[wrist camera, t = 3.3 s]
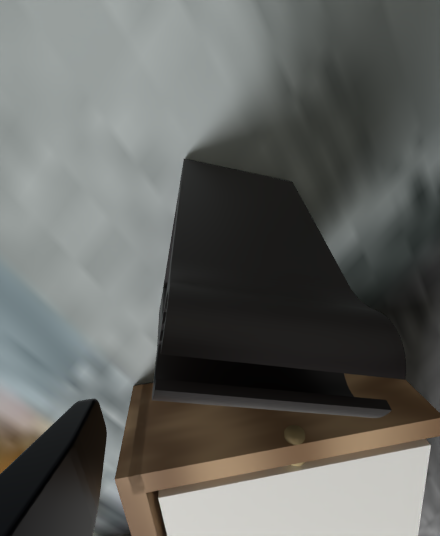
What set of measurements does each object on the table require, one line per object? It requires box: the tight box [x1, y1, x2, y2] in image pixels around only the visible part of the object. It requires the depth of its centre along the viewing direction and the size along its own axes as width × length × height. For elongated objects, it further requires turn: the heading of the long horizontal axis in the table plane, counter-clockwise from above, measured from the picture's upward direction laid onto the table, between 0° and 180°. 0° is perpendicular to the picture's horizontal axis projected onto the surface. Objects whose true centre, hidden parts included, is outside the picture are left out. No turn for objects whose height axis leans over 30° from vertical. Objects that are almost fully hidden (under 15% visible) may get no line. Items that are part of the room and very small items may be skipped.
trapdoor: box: [158, 439, 431, 536], centre depth 20 cm, size 14×14×3 cm
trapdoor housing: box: [115, 373, 440, 536], centre depth 21 cm, size 16×18×6 cm
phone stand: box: [152, 159, 406, 418], centre depth 13 cm, size 9×6×12 cm, turn 168°
